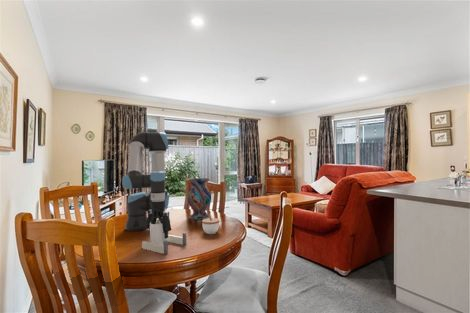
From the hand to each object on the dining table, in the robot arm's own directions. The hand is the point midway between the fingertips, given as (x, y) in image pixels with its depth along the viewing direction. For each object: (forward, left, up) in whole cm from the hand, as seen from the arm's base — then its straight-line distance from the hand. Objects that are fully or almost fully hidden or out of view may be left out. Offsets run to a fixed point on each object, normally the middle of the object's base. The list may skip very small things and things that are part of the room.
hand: (158, 242), depth 128 cm
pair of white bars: (+4, 0, -1) cm, 4 cm away
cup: (0, 0, -1) cm, 1 cm away
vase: (-17, +58, -1) cm, 60 cm away
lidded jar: (+13, +30, -1) cm, 33 cm away
